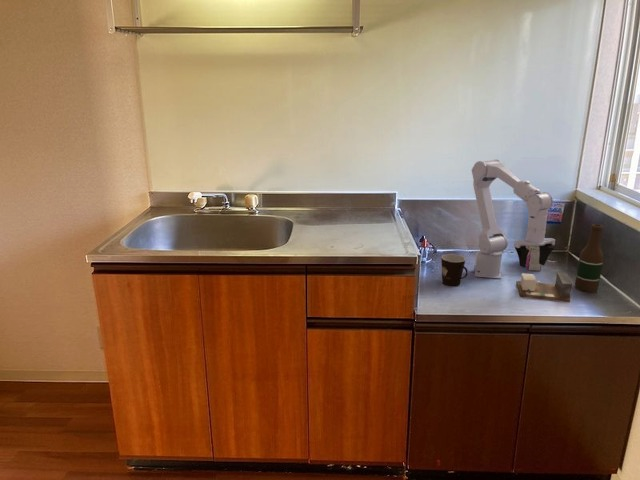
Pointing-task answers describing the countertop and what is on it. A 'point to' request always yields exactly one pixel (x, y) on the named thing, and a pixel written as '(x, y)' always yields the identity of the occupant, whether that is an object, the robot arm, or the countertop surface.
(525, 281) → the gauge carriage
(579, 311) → the countertop surface
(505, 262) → the countertop surface
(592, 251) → the beer bottle
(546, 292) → the frame
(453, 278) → the coffee mug
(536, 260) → the candy bar box
